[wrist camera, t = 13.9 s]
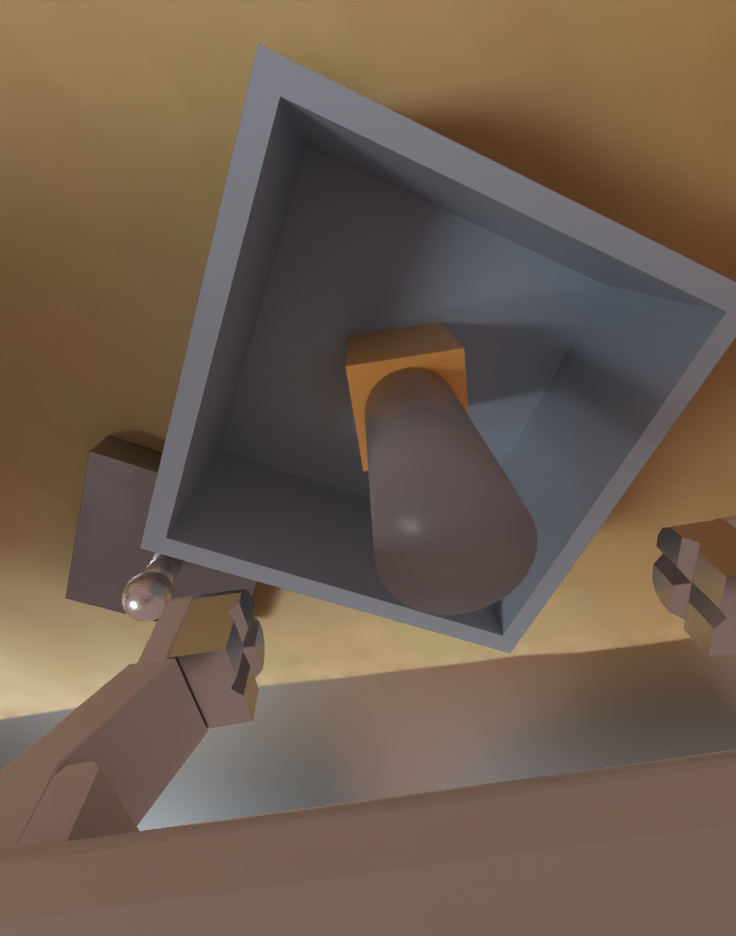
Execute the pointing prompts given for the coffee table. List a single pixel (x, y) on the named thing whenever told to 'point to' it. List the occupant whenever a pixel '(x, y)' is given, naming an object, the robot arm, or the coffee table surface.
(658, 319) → the bin
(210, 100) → the coffee table surface
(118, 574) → the ball stud base
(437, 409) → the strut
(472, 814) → the robot arm
